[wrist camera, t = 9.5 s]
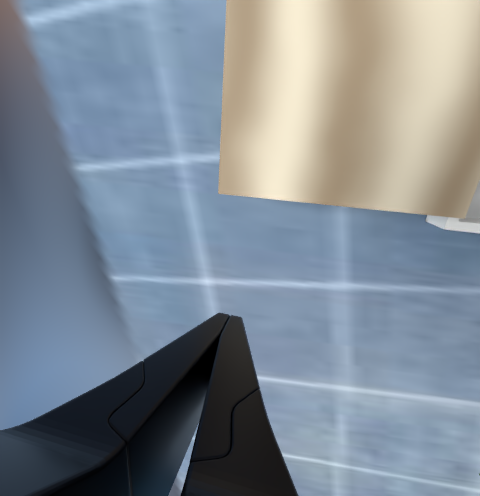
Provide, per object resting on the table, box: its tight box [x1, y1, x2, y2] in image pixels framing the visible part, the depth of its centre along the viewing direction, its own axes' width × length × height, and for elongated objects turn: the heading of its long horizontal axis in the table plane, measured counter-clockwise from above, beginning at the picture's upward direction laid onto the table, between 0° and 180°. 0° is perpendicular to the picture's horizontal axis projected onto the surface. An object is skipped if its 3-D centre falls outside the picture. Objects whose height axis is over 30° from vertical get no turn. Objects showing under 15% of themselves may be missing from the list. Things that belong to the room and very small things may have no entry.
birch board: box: [218, 0, 480, 219], centre depth 15 cm, size 14×14×4 cm
